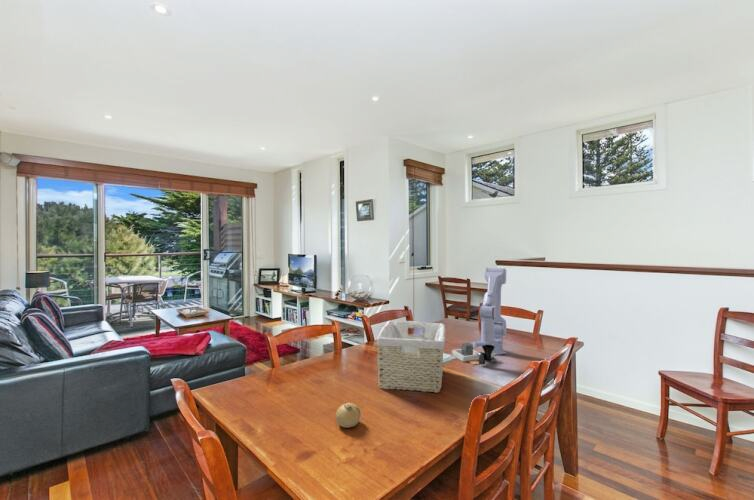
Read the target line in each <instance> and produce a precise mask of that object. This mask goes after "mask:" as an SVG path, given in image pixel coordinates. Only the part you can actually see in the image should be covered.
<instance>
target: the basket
mask: <svg viewBox="0 0 754 500" xmlns="http://www.w3.org/2000/svg"><path fill="white" fill-rule="evenodd" d="M409 329H411V330H414V329H417V330H418V329H419V330H420V329H422V333H423V334H410V333H409ZM446 333H447V332H446V325H445V323H441V322H440V323H436V322H424V321H423V322H422V321H415V320H388V321H387V322H386V323H385V324H384V326H383V327H382V328H381V330H380V332H379V334H378V336H377V337H376V346H377V365H378V367H377V369H378V371H377V372H378V373H377V374H378V375H377V377H378V378H377V379H378V380H377V381H378V387H379V388H380V389H382V390H383V389H384V390H395V389H396V390H403V391H404V390H409V391H419V392H420V391H421V392H423V393H425V392H426V393H427V392H429V393H432V392H433V393H436V394H438V393H440V392H441V388H442V385H443V384H442V381H443V369H444V368H443V367H444V366H443V365H444V364H443V363H444V362H443V361H444V349H445V347H446V346H445V345H446V335H447V334H446Z"/></svg>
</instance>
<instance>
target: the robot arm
mask: <svg viewBox="0 0 754 500" xmlns="http://www.w3.org/2000/svg"><path fill="white" fill-rule="evenodd" d="M484 279H485V281H486V282H487V291H486V292H485V293H484V295H483V300H482V305H481V306H480V307H479V308H480V309H479V316H480V323H481V324H480V326H481V327H480V331H481V332H480V333H481V334H480V335H481V336H480V339H479V340H477V341H476V340H475V341H472V345H473V348H478V347H482V350H483V352H484V353H485V360H486V361H488V362H487V363H490V362H489V361H491V353H492V352H493V353H494V356H497V355H498V356H499V355H505V354H507V351H504V337H505V336H506V335H507V321H506V319H505V318H503V316H501V315H502V314H501V311H502V309H501V307H502V287H503V285H505V284H506V283H507V269H506V268H504V267H503V268H502V267H501V268H499V267H485V269H484Z"/></svg>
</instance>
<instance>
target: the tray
mask: <svg viewBox="0 0 754 500" xmlns="http://www.w3.org/2000/svg"><path fill="white" fill-rule="evenodd" d="M461 352H462V348H460V349H459V348H458V349H457V348H455V349H452V350H451V355H452V356H454V358H456V359H458V360H459V361H461V362H463V363H465V362H466V363H467V362H468V361H475V360H476V361H479V351H477V350H475V349H473V355H469V356H463V355H461Z"/></svg>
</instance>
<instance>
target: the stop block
mask: <svg viewBox="0 0 754 500" xmlns="http://www.w3.org/2000/svg"><path fill="white" fill-rule="evenodd" d="M461 349H462V352H461V355H463V356H469V355H473V350H474V347H473V343H470V342H462V343H461Z"/></svg>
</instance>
